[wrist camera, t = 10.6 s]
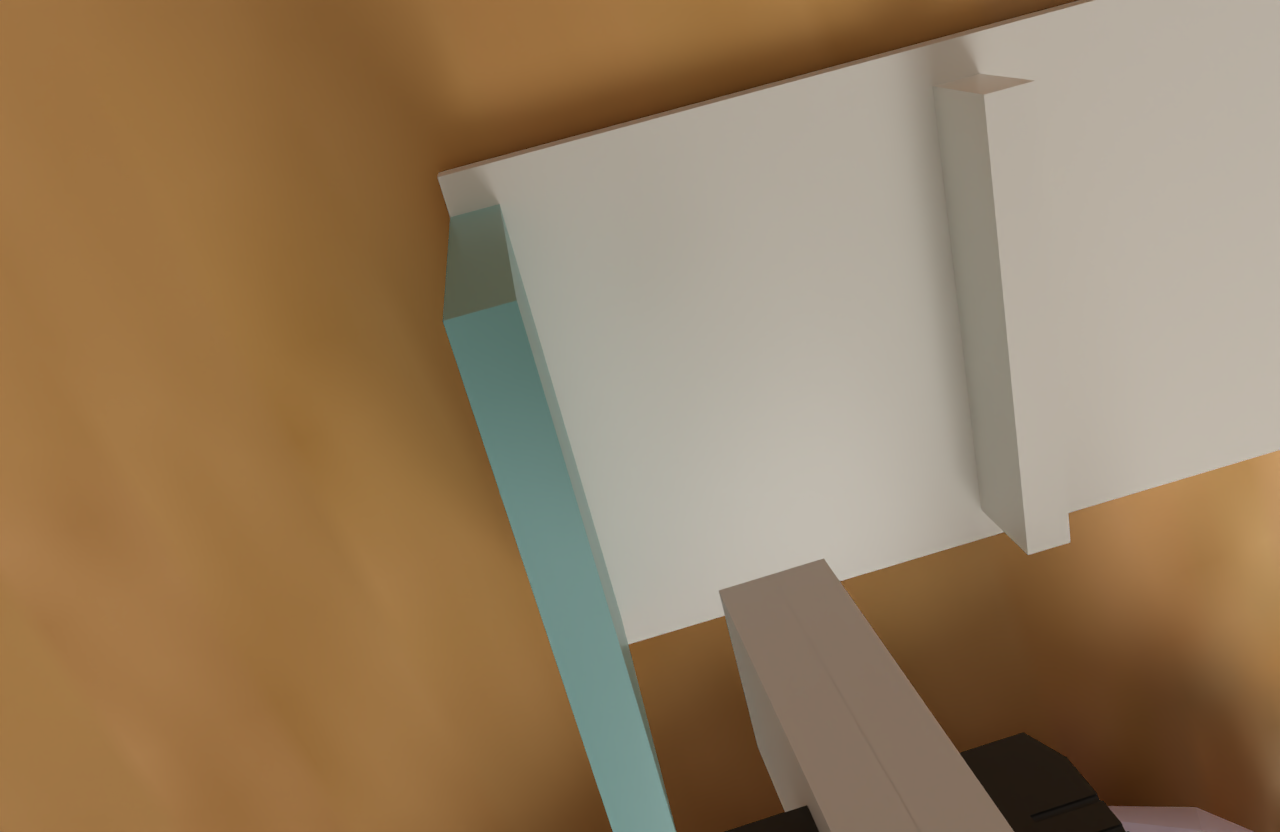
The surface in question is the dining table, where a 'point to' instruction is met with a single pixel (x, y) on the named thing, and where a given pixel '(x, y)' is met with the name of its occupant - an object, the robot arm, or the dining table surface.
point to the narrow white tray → (867, 320)
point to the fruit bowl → (1172, 820)
